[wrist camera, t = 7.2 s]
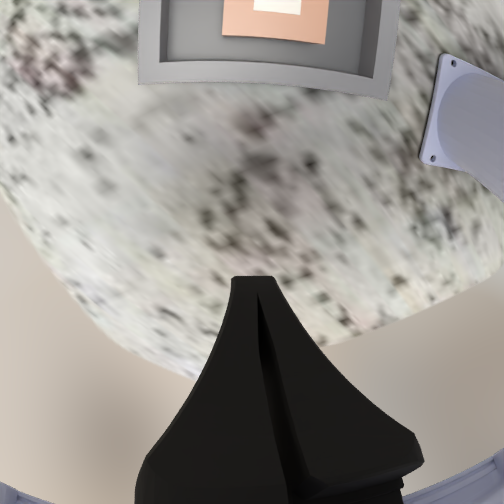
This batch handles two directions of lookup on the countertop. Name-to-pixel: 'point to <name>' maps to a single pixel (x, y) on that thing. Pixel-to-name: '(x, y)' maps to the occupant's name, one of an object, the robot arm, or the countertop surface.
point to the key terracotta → (276, 19)
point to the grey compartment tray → (269, 48)
